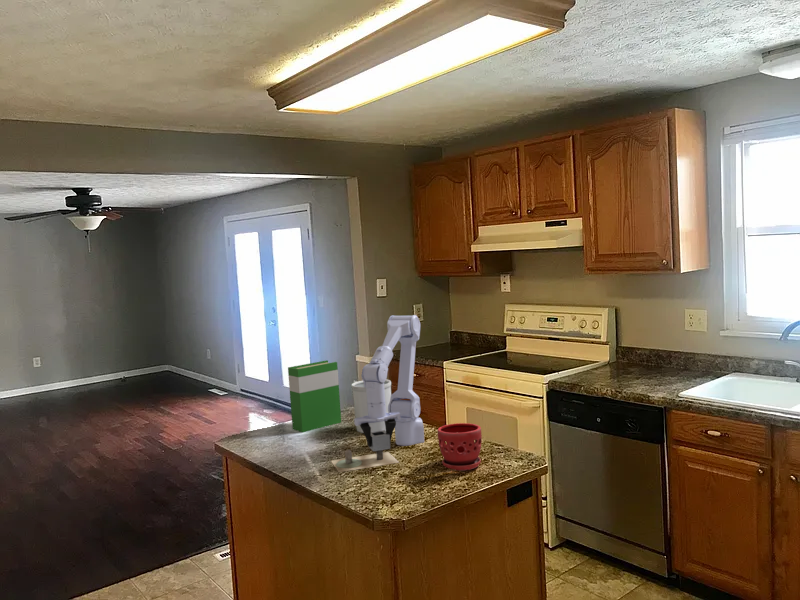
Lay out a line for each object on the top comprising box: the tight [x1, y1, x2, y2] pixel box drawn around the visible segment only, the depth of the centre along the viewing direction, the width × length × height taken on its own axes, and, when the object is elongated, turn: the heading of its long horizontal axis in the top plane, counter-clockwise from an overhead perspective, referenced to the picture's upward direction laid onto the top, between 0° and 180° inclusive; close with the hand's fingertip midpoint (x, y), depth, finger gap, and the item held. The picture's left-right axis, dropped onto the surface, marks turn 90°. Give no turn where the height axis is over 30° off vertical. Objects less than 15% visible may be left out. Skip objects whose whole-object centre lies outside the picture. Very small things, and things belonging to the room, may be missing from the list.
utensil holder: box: [350, 378, 392, 434], centre depth 248 cm, size 15×15×18 cm
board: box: [330, 449, 400, 473], centre depth 207 cm, size 19×12×6 cm, turn 108°
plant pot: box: [437, 422, 483, 472], centre depth 200 cm, size 13×13×12 cm
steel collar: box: [367, 430, 391, 452], centre depth 209 cm, size 6×6×4 cm
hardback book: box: [287, 359, 342, 433], centre depth 257 cm, size 18×7×24 cm, turn 129°
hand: (379, 444), depth 209 cm, fingers closed on steel collar, 6 cm apart
